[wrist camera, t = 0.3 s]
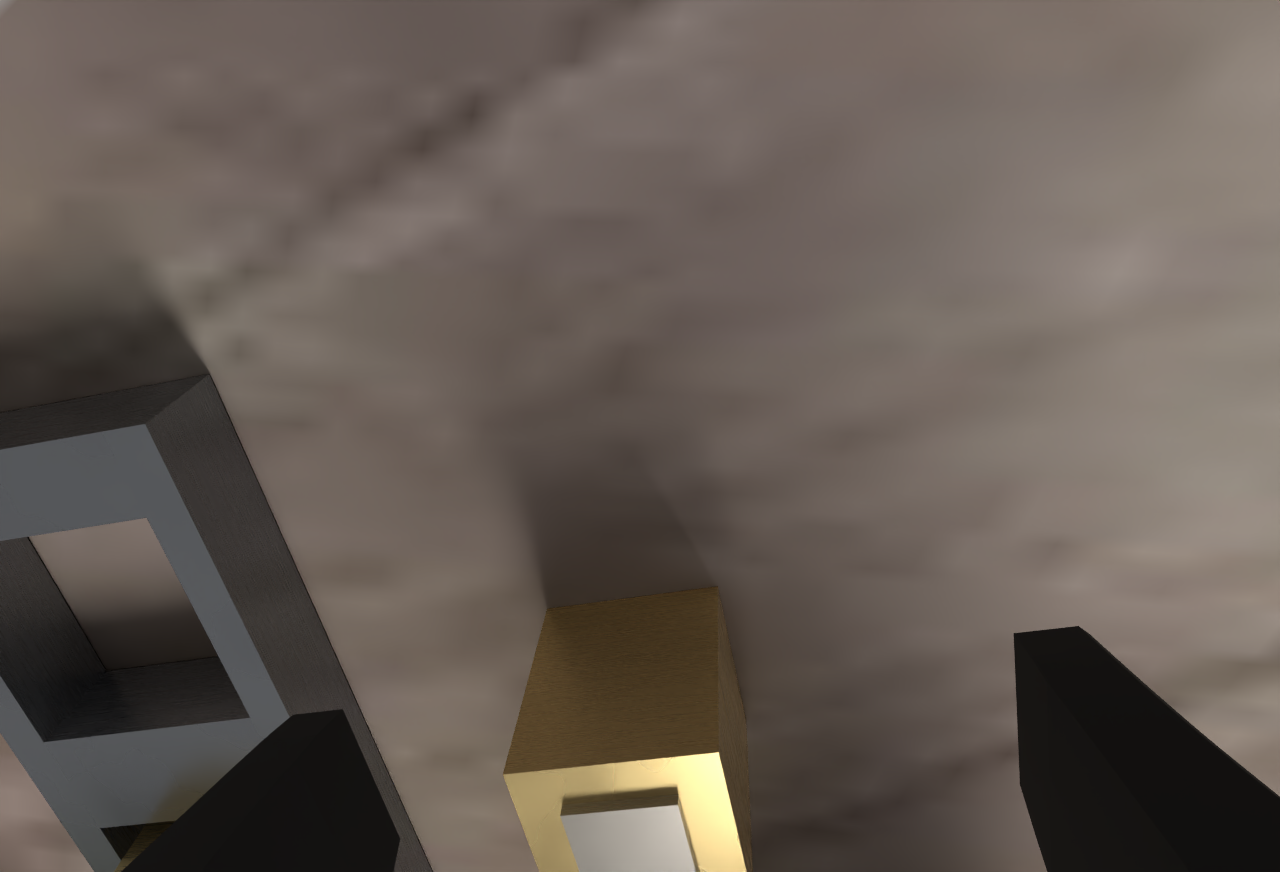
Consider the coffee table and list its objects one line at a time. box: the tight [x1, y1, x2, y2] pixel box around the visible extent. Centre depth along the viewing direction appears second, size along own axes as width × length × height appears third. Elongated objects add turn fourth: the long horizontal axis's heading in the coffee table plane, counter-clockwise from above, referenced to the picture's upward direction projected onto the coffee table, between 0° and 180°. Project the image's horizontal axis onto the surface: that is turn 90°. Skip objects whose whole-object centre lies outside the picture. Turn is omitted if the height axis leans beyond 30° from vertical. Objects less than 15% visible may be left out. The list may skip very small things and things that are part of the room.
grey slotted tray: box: [0, 374, 432, 872], centre depth 22 cm, size 17×7×2 cm, turn 12°
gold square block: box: [503, 586, 753, 872], centre depth 19 cm, size 4×4×5 cm
